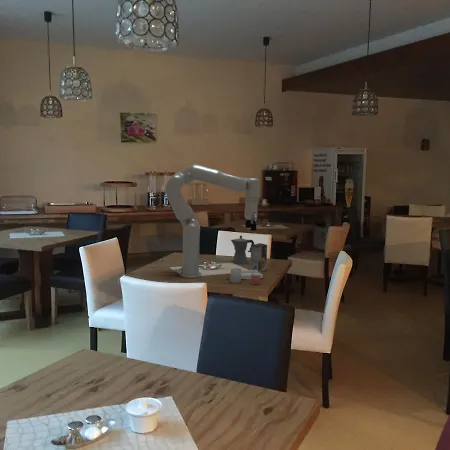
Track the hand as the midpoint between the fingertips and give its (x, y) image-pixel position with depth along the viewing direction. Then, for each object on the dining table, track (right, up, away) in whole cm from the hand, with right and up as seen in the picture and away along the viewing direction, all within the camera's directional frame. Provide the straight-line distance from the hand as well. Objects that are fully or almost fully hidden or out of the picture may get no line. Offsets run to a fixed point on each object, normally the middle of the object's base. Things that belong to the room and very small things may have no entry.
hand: (250, 229), depth 295 cm
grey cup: (-9, -30, -8) cm, 32 cm away
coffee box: (+6, -26, +21) cm, 34 cm away
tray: (-1, -28, +5) cm, 28 cm away
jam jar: (+2, -30, -10) cm, 32 cm away
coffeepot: (-4, -23, +40) cm, 46 cm away
